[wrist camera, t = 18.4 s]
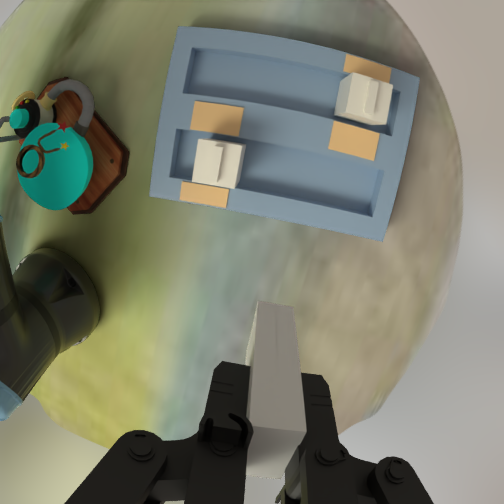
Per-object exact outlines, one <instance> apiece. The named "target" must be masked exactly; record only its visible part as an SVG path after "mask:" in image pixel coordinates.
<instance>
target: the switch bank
mask: <svg viewBox="0 0 504 504" xmlns="http://www.w3.org/2000/svg"><path fill="white" fill-rule="evenodd" d="M352 72H354V73H358V74H361V75H364V76H368V77H371V78H374V79H377V80H380V81H383V82H386V83H389V84H392V85H393V89H392V95H391V100H390V106H389V111H388V117H387V122H386V124H384V125H366V124H362V123H359V122H355V121H352V120H348V119H344V118H341V117H337V116H334V111H335V106H336V101H337V96H338V91H339V85H340V81H341V80H343V79H344V78H345V77H347V76H348V75H350V74H351V73H352ZM419 80H420V78H419V77H417V76H414V75H411V74H409V73H406V72H404V71H401V70H398V69H396V68H393V67H390V66H387V65H384V64H382V63H379V62H376V61H373V60H369V59H366V58H363V57H360V56H357V55H353V54H350V53H346V52H343V51H339V50H335V49H331V48H328V47H324V46H319V45H315V44H311V43H307V42H302V41H297V40H292V39H287V38H282V37H276V36H270V35H264V34H258V33H251V32H243V31H235V30H226V29H216V28H203V27H185V26H178V30H177V34H176V38H175V43H174V47H173V51H172V56H171V60H170V65H169V70H168V75H167V80H166V85H165V90H164V96H163V101H162V107H161V113H160V119H159V125H158V131H157V138H156V145H155V152H154V159H153V167H152V176H151V184H150V193H149V196H150V197H156V198H162V199H168V200H174V201H180V202H186V203H192V204H197V205H203V206H209V207H214V208H220V209H225V210H231V211H236V212H241V213H247V214H252V215H257V216H262V217H268V218H273V219H278V220H283V221H288V222H293V223H298V224H303V225H308V226H312V227H317V228H322V229H327V230H331V231H336V232H341V233H345V234H350V235H355V236H359V237H364V238H368V239H373V240H377V241H382V242H383V239H384V236H385V233H386V229H387V226H388V222H389V219H390V215H391V212H392V208H393V204H394V201H395V197H396V193H397V189H398V185H399V181H400V177H401V173H402V169H403V165H404V160H405V156H406V151H407V147H408V142H409V137H410V132H411V127H412V122H413V116H414V111H415V105H416V99H417V93H418V87H419ZM205 138H211V139H218V140H224V141H230V142H236V143H242V144H246V149H245V154H244V160H243V165H242V171H241V176H240V181H239V183H238V184H237V186H236V187H235V189H232V188H226V187H220V186H215V185H209V184H203V183H197V182H192V176H193V169H194V163H195V157H196V150H197V144H198V139H205Z"/></svg>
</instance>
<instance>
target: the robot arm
mask: <svg viewBox="0 0 504 504" xmlns="http://www.w3.org/2000/svg"><path fill="white" fill-rule="evenodd" d="M2 222H3V217H2V216H1V215H0V421H4V420H6V419H7V418H9V416H10V415H11V414H12V413H13V412H14V411H15V409H16V408H17V407H18V406H20V405H21V404H22V403H23V401H24V400H25V398H26V397H27V395H28V394H29V393H30V391H31V390H32V388H33V387H34V386H35V384H36V383H37V382H38V380H39V379H40V377H41V376H42V375H43V373H44V372H45V371H46V369H47V368H48V367H49V365H50V364H51V363H52V361H53V360H54V359H55V358H56V357H57V355H58V354H59V353H61V352H63V351H65V350H67V349H69V348H70V347H71V346H74V345H77V344H80V343H81V342H83V341H84V340H86V339H87V338H88V337H89V335H90V334H91V333H92V332H93V330H94V329H95V327H96V326H97V323H98V320H99V315H100V307H99V300H98V296H97V293H96V290H95V288H94V286H93V284H92V282H91V280H90V278H89V277H88V275H87V274H86V272H85V271H84V270H83V269H82V267H81V266H80V265H79V264H78V263H77V262H76V261H75V260H73V259H72V258H71V257H70V256H68V255H67V254H65V253H63V252H61V251H59V250H56V249H52V248H41V249H37V250H35V251H34V252H32V253H30V254H29V255H27V256H26V257H25V258H23V259H22V260H21V262H20V263H19V265H18V266H17V268H16V270H15V273H14V274H13V275H12V272H11V268H10V264H9V259H8V255H7V250H6V245H5V240H4V234H3V228H2ZM330 397H331V395H330V390H329V385H328V384H327V382H326V381H325V380H324V378H323V377H322V375H316V374H307V373H301V369H300V360H299V351H298V342H297V334H296V325H295V317H294V309H293V307H291V306H286V305H280V304H274V303H269V302H263V301H258V303H257V307H256V312H255V316H254V321H253V325H252V330H251V334H250V339H249V343H248V347H247V352H246V362H245V365H241V364H236V363H230V362H225V361H222V362H221V363H220V364H219V365H218V366H217V367H216V368H215V369H214V372H213V376H212V381H211V385H210V390H209V394H208V399H207V403H206V408H205V413H204V416H203V417H202V419H201V421H200V423H199V431H198V432H197V433H196V434H194V435H193V436H191V437H189V438H186V439H183V440H171V441H162V439H161V438H160V437H158V436H157V435H155V434H154V433H151V432H148V431H145V430H134V431H130V432H127V433H125V434H124V435H122V436H121V437H120V438H119V439H118V440H117V441H116V443H115V444H114V445H113V446H112V447H111V449H110V450H109V451H108V452H107V453H106V455H105V456H104V457H103V458H102V459H101V461H100V462H99V463H98V464H97V466H96V467H95V468H94V469H93V470H92V472H91V473H90V474H89V475H88V476H87V477H86V479H85V480H84V481H83V482H82V484H81V485H80V486H79V487H78V488H77V489H76V490H75V492H74V493H73V494H72V495H71V496H70V498H69V499H68V500H67V501H66V502H65V504H164V503H165V501H178V500H179V501H180V500H185V501H184V504H244V493H245V479H246V476H253V477H263V478H273V479H274V478H275V479H281V478H282V476H283V474H284V473H285V485H284V486H283V488H282V490H281V491H280V493H279V495H278V496H277V497H276V501H275V503H279V502H280V500H281V504H434V503H433V502H432V500H431V498H430V496H429V495H428V493H427V491H426V490H425V488H424V486H423V485H422V483H421V481H420V479H419V478H418V476H417V474H416V473H415V471H414V469H413V468H412V467H411V466H410V464H409V463H408V462H407V461H405V460H403V459H402V458H398V457H386V458H384V459H382V460H380V461H379V463H378V464H376V463H372V462H368V461H364V460H360V459H358V458H355V457H353V456H351V455H350V454H349V453H348V450H347V449H346V448H345V447H344V446H343V445H342V444H341V443H340V442H339V439H338V433H337V427H336V422H335V416H334V411H333V408H332V400H331V399H330Z"/></svg>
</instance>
